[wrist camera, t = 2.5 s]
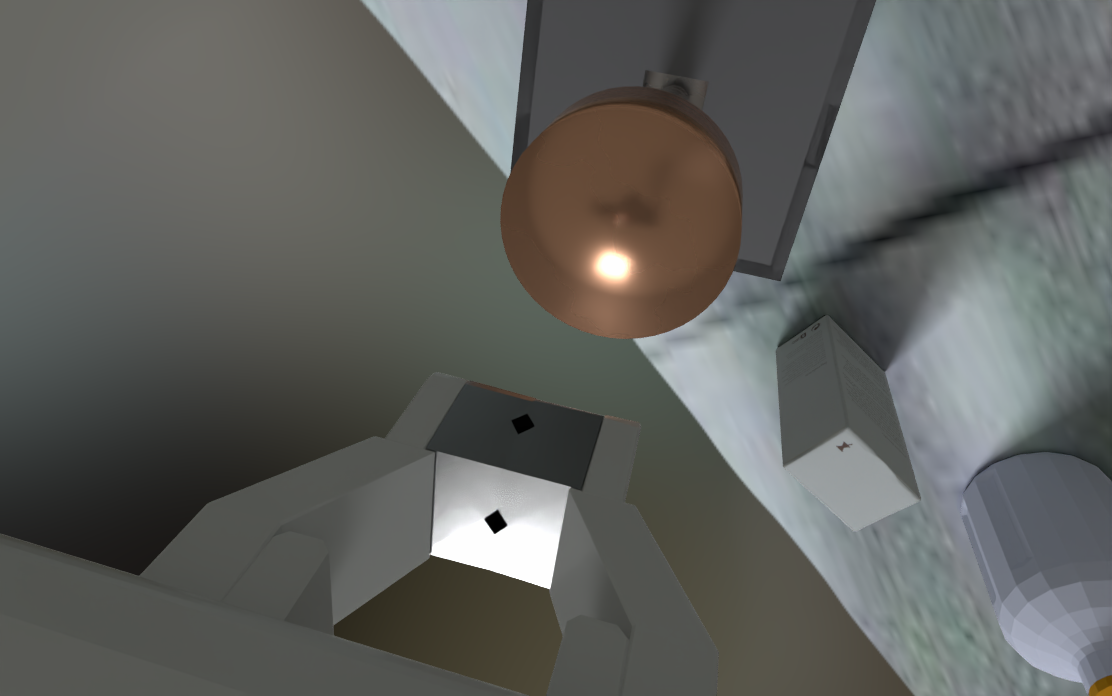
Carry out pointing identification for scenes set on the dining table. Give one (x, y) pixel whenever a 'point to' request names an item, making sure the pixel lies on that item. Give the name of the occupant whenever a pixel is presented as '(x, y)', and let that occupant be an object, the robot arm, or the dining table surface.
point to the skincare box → (842, 427)
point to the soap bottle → (1048, 561)
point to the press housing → (710, 86)
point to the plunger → (626, 210)
